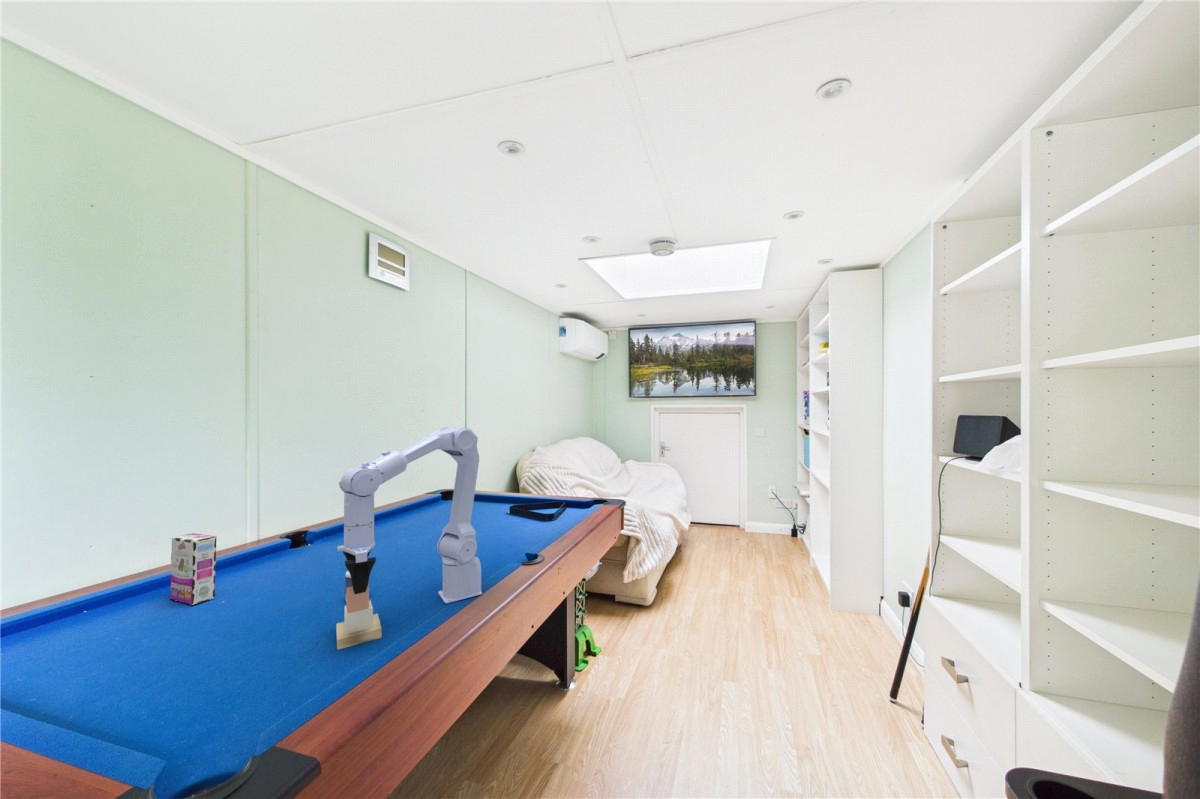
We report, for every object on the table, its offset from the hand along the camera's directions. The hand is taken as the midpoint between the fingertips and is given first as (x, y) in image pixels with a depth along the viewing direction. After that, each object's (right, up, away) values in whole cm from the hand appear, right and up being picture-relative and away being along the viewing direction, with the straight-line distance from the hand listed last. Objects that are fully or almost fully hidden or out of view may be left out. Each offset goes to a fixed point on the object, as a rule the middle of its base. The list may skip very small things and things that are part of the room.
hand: (358, 586), depth 90 cm
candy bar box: (-55, -12, +19) cm, 60 cm away
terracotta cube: (0, -4, 0) cm, 4 cm away
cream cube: (0, -8, 0) cm, 8 cm away
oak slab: (0, -10, 0) cm, 10 cm away
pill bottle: (-11, -12, +18) cm, 24 cm away
